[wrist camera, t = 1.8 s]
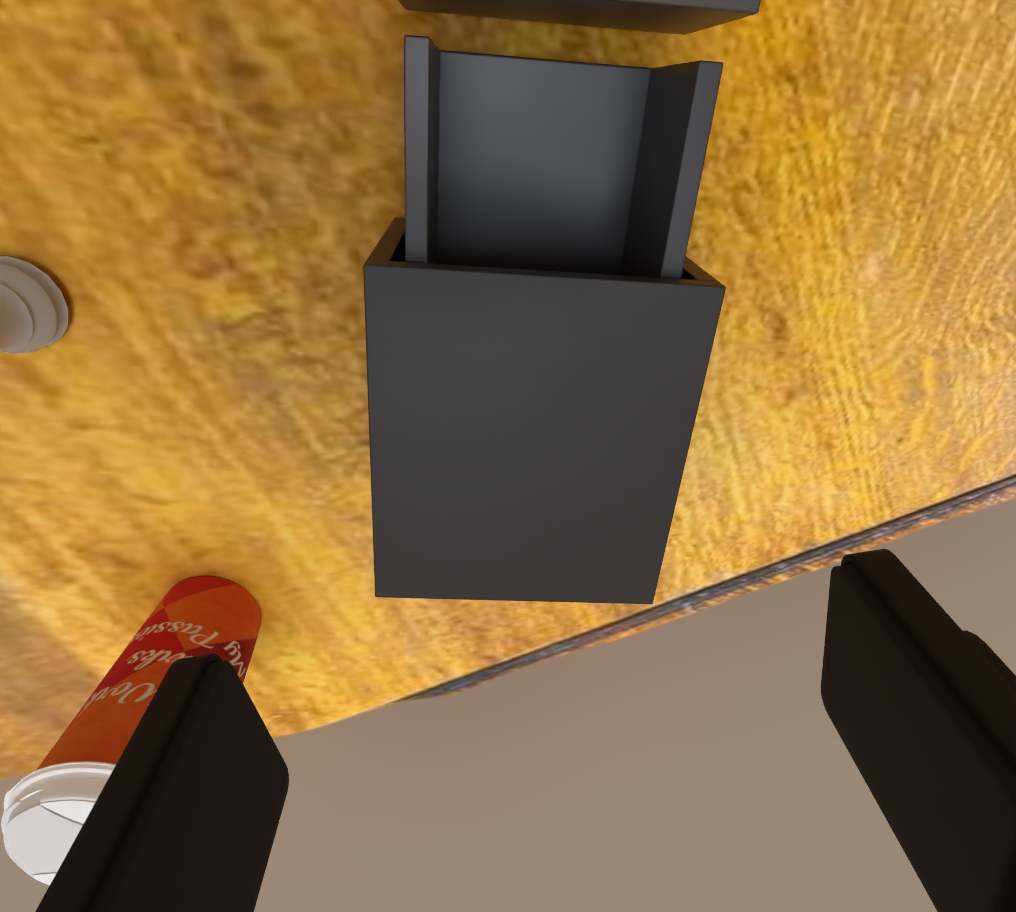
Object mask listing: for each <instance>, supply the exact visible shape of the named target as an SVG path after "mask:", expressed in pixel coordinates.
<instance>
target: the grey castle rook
mask: <svg viewBox="0 0 1016 912" xmlns="http://www.w3.org/2000/svg"><path fill="white" fill-rule="evenodd" d="M67 327H68V307H67V305H66V302H65V300H64V297H63V294H62V292H61V290H60V289H59V288H58V287H57V285H56V284H55V283H54V282H53V281H52V279H51V278H50V277H49V276H48V275H47V274H46V273H44V272H43V271H41V270H40V269H38V268H37V267H35V266H34V265H32V264H31V263H29V262H26V261H23V260H20V259H16V258H13V257H10V256H1V257H0V352H8V353H11V354H12V353H27V352H35V351H37V350H39V349H41V348H42V347H47V346H49V345H51V344H52V343H54V342H56V341H58V340H60V339H61V337H62V335H63V334H64V332H65V330H66V329H67Z"/></svg>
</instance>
